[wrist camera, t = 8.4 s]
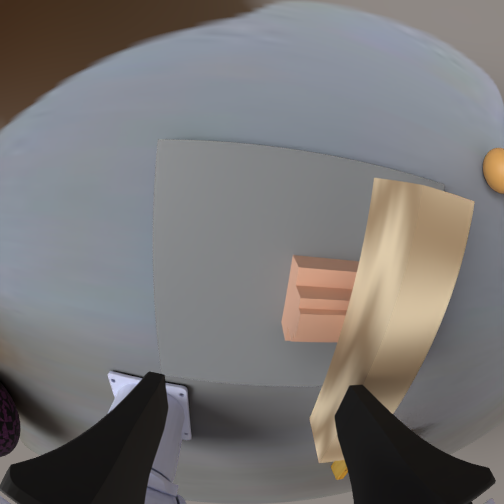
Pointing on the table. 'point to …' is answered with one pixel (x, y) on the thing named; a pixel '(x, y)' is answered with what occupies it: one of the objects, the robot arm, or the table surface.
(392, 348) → the pine batten
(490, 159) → the figurine
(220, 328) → the board
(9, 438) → the toy ball
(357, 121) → the table surface
